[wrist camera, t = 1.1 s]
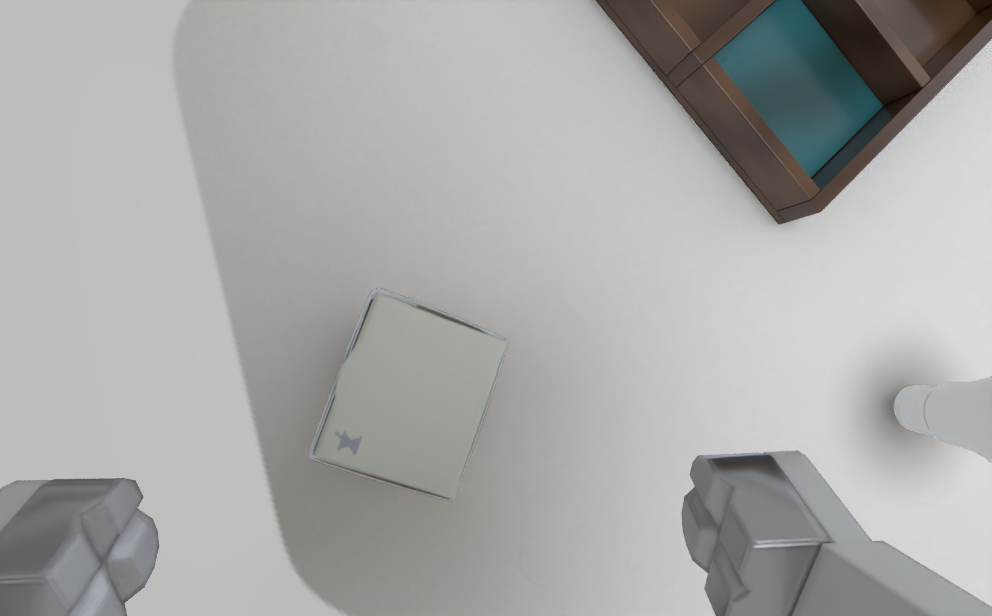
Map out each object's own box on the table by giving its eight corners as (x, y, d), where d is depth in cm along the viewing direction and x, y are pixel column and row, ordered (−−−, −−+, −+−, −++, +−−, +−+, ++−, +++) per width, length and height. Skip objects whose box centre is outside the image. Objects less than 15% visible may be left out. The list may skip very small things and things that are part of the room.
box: (425, 444, 26) (450, 517, 15) (337, 413, 25) (297, 468, 15) (464, 338, 27) (514, 337, 16) (379, 307, 26) (371, 283, 15)
